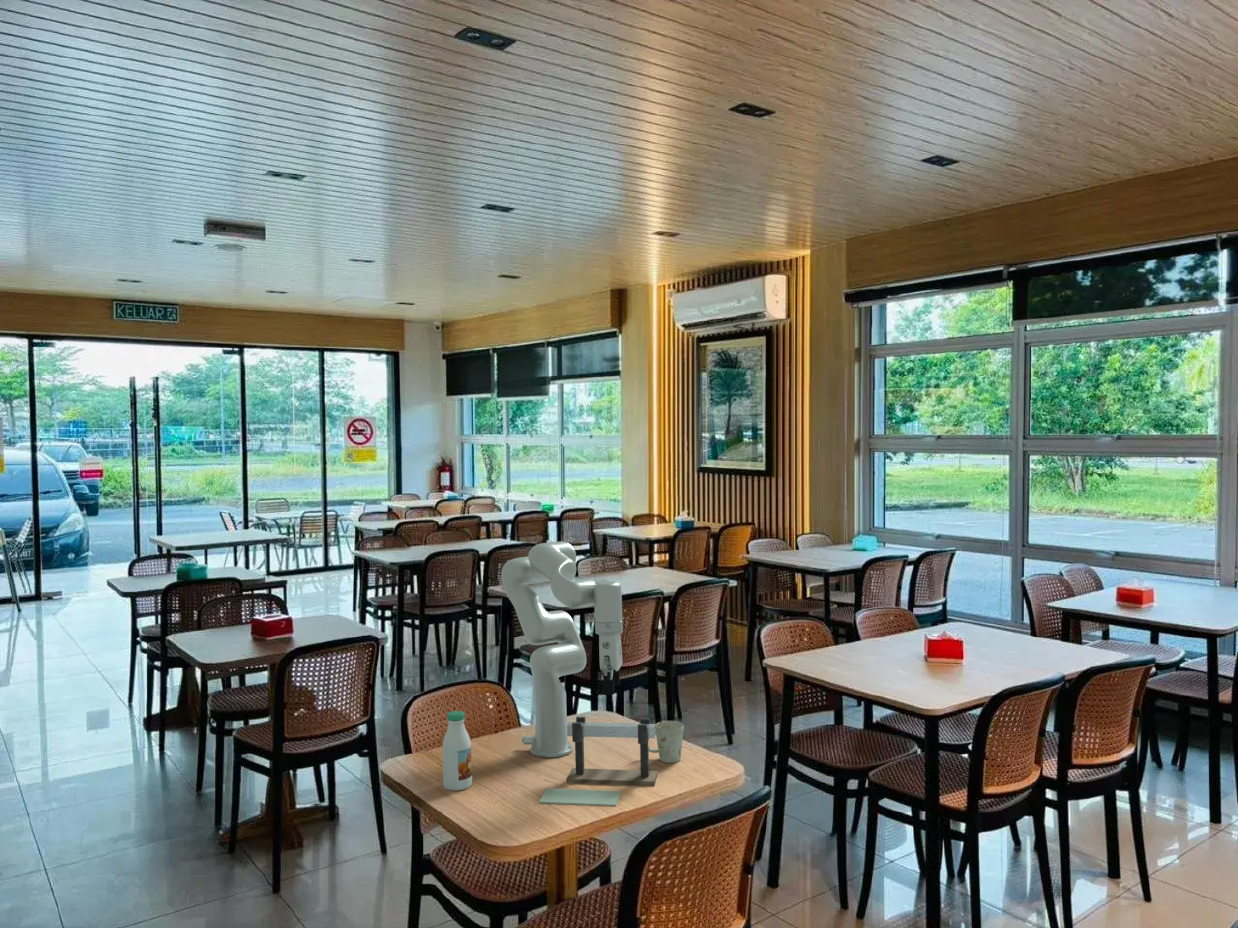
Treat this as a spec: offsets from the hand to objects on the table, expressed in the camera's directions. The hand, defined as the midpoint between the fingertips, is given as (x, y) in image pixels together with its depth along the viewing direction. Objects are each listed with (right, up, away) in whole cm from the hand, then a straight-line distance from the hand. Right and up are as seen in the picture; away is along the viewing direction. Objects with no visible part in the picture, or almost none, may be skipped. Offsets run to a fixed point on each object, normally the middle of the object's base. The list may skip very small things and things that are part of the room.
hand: (611, 689), depth 250 cm
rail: (0, -13, +1) cm, 13 cm away
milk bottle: (-42, -26, -2) cm, 49 cm away
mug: (+15, -24, +16) cm, 32 cm away
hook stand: (0, -25, +1) cm, 25 cm away
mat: (-8, -25, -12) cm, 29 cm away
